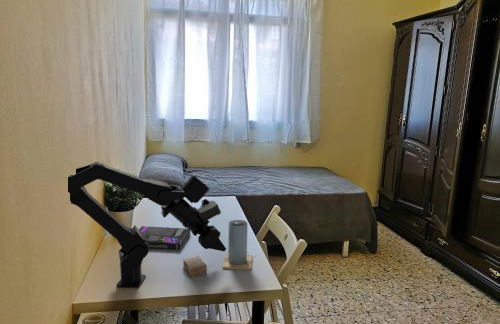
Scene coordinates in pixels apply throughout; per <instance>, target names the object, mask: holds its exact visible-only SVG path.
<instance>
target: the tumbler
mask: <svg viewBox="0 0 500 324" xmlns="http://www.w3.org/2000/svg"><path fill="white" fill-rule="evenodd" d="M227 249H228V253H227V255H228V262H229V263H230V264H232V265H243V264H245V263H246V262H247V255H248V221H246V220H243V219H233V220H230V221H229V222H228V248H227Z"/></svg>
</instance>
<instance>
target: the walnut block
mask: <svg viewBox="0 0 500 324" xmlns="http://www.w3.org/2000/svg"><path fill="white" fill-rule="evenodd" d="M182 264H183V269H184V270H185V271H186V273H187V274H188V276H189V277H190V278H194V277H198V276H203V275H206V274H208V273H207V271H208V270H207V269H208V268H207V264H206V262H204V261H203V260H202V259H201V257H200V256H193V257H189V258H185V259H184V258H183V263H182Z"/></svg>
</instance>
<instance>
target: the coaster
mask: <svg viewBox="0 0 500 324" xmlns="http://www.w3.org/2000/svg"><path fill="white" fill-rule="evenodd" d="M224 255H225V256H224V260H223V265H222V269H223V270H247V271H249V270H252V267H253V255H252V254H247V262H246V263H245V264H243V265H232V264H230V263H229V262H228V254H224Z"/></svg>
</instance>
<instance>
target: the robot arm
mask: <svg viewBox="0 0 500 324" xmlns="http://www.w3.org/2000/svg"><path fill="white" fill-rule="evenodd" d="M75 169H76V174H75V175H70V176H69V177H68V192H69V193H70V201H71V203H70V204H72V205H75V206H76V207H78V208H79V209H80V210H82V211H83V212H84V213H85V214H86V215H88V216H89V218H91V219H92V220H93V221H95V222H96V223H97V224H98V225H99V226H100V227H102V228H103V229H104V230H105V231H106V232H107V233H109V235H111V236H112V237H113V238H114V239H115V240H116V241H117V242H118V244H119V245H120V247H121V248H120V249H119V250H118V257H119V269H120V271H119V272H120V279H119V281H118V282H117V283H116V287H118V288H140V286H141V285H142V283H143V282H144V280H145V278H146V274H143V273H142V264H143V260H144V258H146V256H148V254H149V251H150V249H149V247H148V244H147V239H146V237H145V234H144V233H143V232H141V231H139V229H140V228H138V226H136V225H133V226H132V228H131V227H129V226H127V225H125V224H124V223H123V222H121V220H119V219H118V218H117V217H116V216H115V215H114V214H113V213H112V212H110V211H109V210H108V209H107V208H106V207H105V206H104V205H103V204H101V202H99V201H98V200H97V199H96V198H94V197H93V196H92V195H91V194H90V193H89V191H88V190H87V189H86V187H85V186H86V185H89V184H91V183H93V182H95V181H97V180H100V181H103V182H106V183H109V184H112V185H115V186H117V187H120V188H123V189H126V190H129V191H131V192H136V193H139V195H142V196H143V197H145V198H146V199H148V200H149V201H150V202H153V203H155V205H158V206H160V208H161V212H160V213H161V216H162V217H163V218H166V217H167V216H168V215H171V216H173V217H174V218H175V219H176V220H177V221H179V223H180V224H182V226H183V227H184V229H189V230H190V233H191V234H192V235H193V236H195V237H196V236H197V235H199V236H198V239H197V242H198V243H199V244H200V246H201V247H202V248H203V249H205V250H215V251H220V252H226V250H227V247H226V246H225V244H223V242H222V240H221V239H220V236H221V232H220V230H218V229H217V227H216V226H214V225H209V223H210V220H211V219H213V218H215V217H216V216H219V215H220V214H222V212H221V209H220V207H219V204H218V203H217V202H216V201H215V200H209V199H207V198H204V196H205V195H206V194H207V193H209V191H210V190H211V189H210V188H209V187H208V186H207V185H206V184H205V182H203V181H202V180H200V179H199V178H197V176H195V174H192V175H191V176H190V177H189V178H188V180H187V181H185V183H184V184H183V185H182V186H180V185H175V184H174V185H173V184H168V183H167V182H165V181H161V180H155V179H147V178H142V177H138V176H136V175H133V174H132V173H128V172H126V171H122V170H119V169H117V168H115V167H112V166H109V165H106V164H104V163H102V162H101V161H95V162H92V163H90V164H87V165H84V166H80V167H77V168H75ZM203 198H204V199H203ZM186 200H187V201H186ZM188 201H189V202H190V203H191V204H193V203H194V204H196V203H197V204H198V203H199V202H200V201H201V205H200V206H199V208H198V209H197V208H196V207H195V206H192V205H191V204H190V203H189V202H188Z"/></svg>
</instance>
